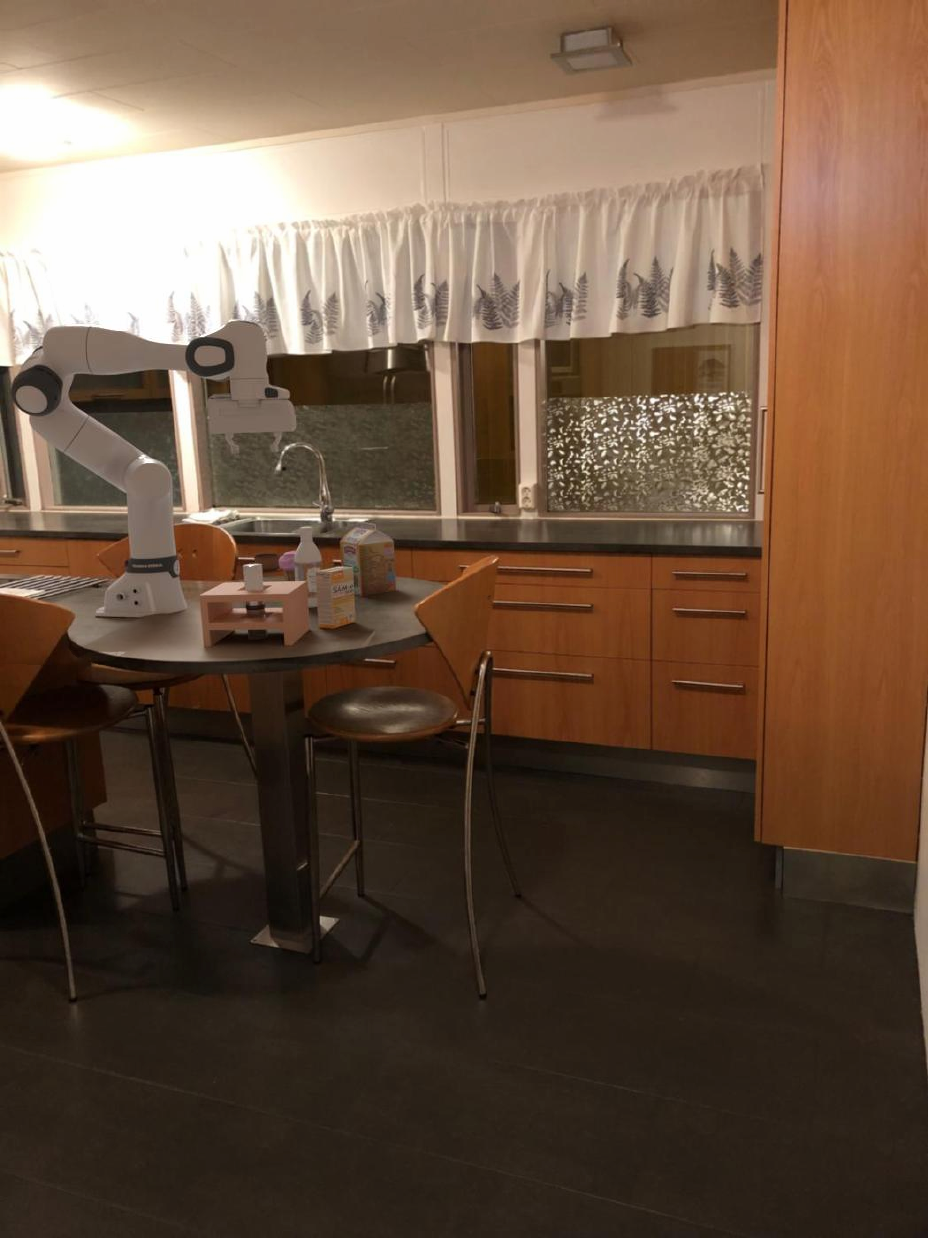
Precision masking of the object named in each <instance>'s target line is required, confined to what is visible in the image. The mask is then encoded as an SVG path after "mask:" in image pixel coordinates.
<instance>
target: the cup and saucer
mask: <svg viewBox="0 0 928 1238" xmlns="http://www.w3.org/2000/svg"><path fill="white" fill-rule="evenodd" d="M280 557H281V556H279V554H278V553H259V554H255V555H254V556H253V561H254V564H262V574H273V573H274V574H276V573H280V572H283V569H281V570H279V569H280V568H281V567H280V566H279V559H280Z"/></svg>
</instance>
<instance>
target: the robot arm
mask: <svg viewBox="0 0 928 1238" xmlns="http://www.w3.org/2000/svg"><path fill="white" fill-rule="evenodd" d="M266 344H267V343H266V338H265V333H264V331H263V329H262V327H261V326H260V325H259V324H258V323H255V322H254V321H249V320H246V319H244V320H243V319H239V318H238V319H235V318H234V319H230V320H228V321H227V322H226V323H225V324H224V325H223V326H221V327H220V328H217V329H215V330H213V331H211V332H209V333H207V334H203V335H200V336H198V337H194V338H193V339H192V340H191V341H190V342H189V343H188V344H187V343H174V342H161V341H155V340H152V339H149V338H145V337H142V336H139V335H138V334H137V335H136V334H134V333H133V332H129V331H128V330H123V329H121V328H116V327H112V326H108V325H100V324H99V325H98V324H88V323H87V324H84V323H83V324H75V323H74V324H65V325H64V324H62V325H56V326H52V327H50V328H49V329H48V330H46V332H45V333H44V335H43V339H42V345H40V346H39V347H37V348H35V349H34V350H33V351H32V353H31V355H29V356H28V357H27V358H26V359H25V360H24V362H23V363H22V365H21V367H20V369H19V371H18V373H17V375H16V376H15V377H14V379H13V381H12V384H11V387H10V395H11V400H12V402H13V404H14V405H15V406H16V408H17V409H18V410H19V411H21V412H22V413H25V414H26V415H27V416H28V415H29V417H28V421H29V426H30V427H31V429H32V430H34V431H35V433H36V434H38V435H39V436H40V437H41V438H42V439H44V441H46V442H47V443H48V444H49V445H51V446H52V447H54V448H55V449H57V450H58V451H59V452H61V453H63V454H64V455H65V456H67V457H69V458H70V459H72V460H74V461H75V462H76V463H78V464H80V465H81V466H83V467H85V468H86V469H88V470H89V471H90V472H93V474H95V475H97V476H99V477H100V478H102V479H103V480H105V481H106V482H107V483H109V484H111V485H113V486H114V487H116V488H117V489H118V490H120V491H121V492H123V493H125V494H126V504H127V505H126V507H127V533H128V540H129V541H128V543H129V550H130V552H129V553H130V556H129V558H127V559H126V560H124V561H123V562H121V564H122V565H121V567H124V568H125V570H124V571H125V572H124V573H123V574H122V575H121V576H120V577H119V578H117V579H116V580H115V581H114V582H113V583H112V584H111V585H109V586H108V588H106V591H105V593H104V599H103V602H104V603H103V606H102V607H99V608H98V609H96V610H95V616H96V617H115V618H116V617H117V618H122V617H123V618H124V617H125V618H142V617H146V616H151V615H157V614H174V613H178V612H182V611H185V610H187V609H188V604H187V603H186V600H185V596H184V594H183V590H182V586H181V582H180V580H181V579H180V573H181V571H180V561H179V556H178V554H177V552H176V542H175V541H176V539H175V528H174V494H173V493H174V491H173V489H174V488H173V487H174V486H173V475H172V474H171V473H172V472H171V471H170V470H169V468H168V467H167V465H166V464H164V463H163V462H162V461H160V460H158V459H155V458H152V457H150V455H149V456H148V454H145V453H144V452H143V451H141V450H140V449H138V448H137V447H135V446H134V445H133V444H131V443H130V442H129V441H127V440H126V439H124V438H123V437H122V436H120V435H118V434H117V433H116V432H114V431H113V430H111V429H110V428H108V427H107V426H105V424H103V423H101V422H99V421H98V420H97V419H95V418H93V417H92V416H91V415H89V414H87V413H86V412H84V411H83V410H82V409H79V408H78V407H77V406H76V405H74V403H72V401H71V399H70V396H69V394H70V393H72V392H73V391H74V386H75V382H76V377H77V374H81V375H82V374H87V375H96V376H97V375H98V376H111V375H112V376H113V375H121V374H122V375H123V374H128V373H129V374H131V373H136V372H141V371H143V372H144V371H150V370H152V371H153V370H165V371H166V370H167V371H169V370H170V371H176V372H177V371H179V372H191V373H193V374H195V375H196V376H198V377H200V378H202V379H208V380H210V381H211V380H212V381H214V382H219V383H221V382H226V381H229V386H230V392H227V393H226V392H225V393H213V394H212V395H210V396H209V397H208V399H207V410H208V412H209V414H208V415H209V416H208V429H209V431H210V432H211V434H213V435H218V434H219V435H220V434H221V435H224V438H225V441H226V442H227V443H228V445H229V446H230V453H231V454H240V445H237V444H236V443H235V442H234V440H233V438H234V436H235V435H234V434H249V433H250V434H252V433H273V437H275V440H274V442H273V444H269V448H270V450H269V451H270V452H271V453H278V452H279V444H280V442H281V440H282V437H283V432H294V431H295V430H296V428H297V417H296V412H295V410H296V409H295V407H294V404H293V403H292V402H291V400H289V399H290V397H291V393H290V391H289V390H288V389H286V388H282V387H278V386H277V385H272V384H270V380H269V374H268V372H267V362H268V354H267V353H268V351H267V345H266Z"/></svg>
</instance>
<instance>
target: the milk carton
mask: <svg viewBox="0 0 928 1238" xmlns="http://www.w3.org/2000/svg"><path fill="white" fill-rule="evenodd" d="M339 547H340V564H341V566H340V567H353V579H354V595H356V596H360V597H364V596H371V595H375V594H381V593H382V594H383V593H387V592H392V591H397V584H396V583H397V582H396V581H397V580H396V579H397V577H396V562H395V560H396V559H395V557H396V556H395V541H394V539H393V538H391V537H390V536H389V535H387V534H386V533H384V532H382V531H380V530H378V529H377V525H376V523H371V522H363V521H356V522H355V527H354V528H352V529H350V530H349V532H347V533H346V534H345V535H343V537H342V538H341V539H340V541H339Z"/></svg>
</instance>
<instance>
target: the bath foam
mask: <svg viewBox="0 0 928 1238" xmlns="http://www.w3.org/2000/svg"><path fill="white" fill-rule="evenodd" d="M299 535H300V543H299V545H298V547H297V548H296V550H295V551H296V552H295V556H294V568H295V581H307V592H308V607H309V609H312V608H317V591H316V574H315V571H320V570H324V569H323V559H322V553H321V552H320V550H319V548H318V547H317V545H316V544H315V542H314V541H313V527H312V526H301V527H299Z"/></svg>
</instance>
